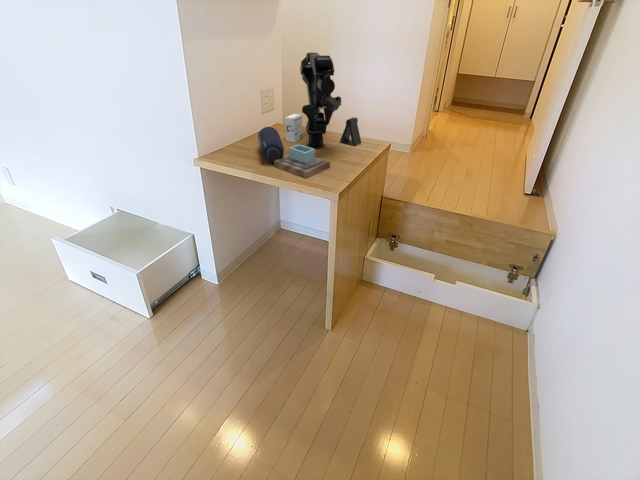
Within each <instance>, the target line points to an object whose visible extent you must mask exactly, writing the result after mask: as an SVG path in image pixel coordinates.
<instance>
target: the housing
mask: <svg viewBox="0 0 640 480" xmlns="http://www.w3.org/2000/svg"><path fill="white" fill-rule="evenodd" d="M288 155H289V160H292V161H295V162H298V163H301V164H304V165H307V164H309V163H312V162H314V161H315V157H316V149H315V148H312V147H309V146H306V145H303V144H295V145H293V146H290V147H288Z"/></svg>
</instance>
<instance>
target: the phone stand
mask: <svg viewBox="0 0 640 480" xmlns="http://www.w3.org/2000/svg"><path fill="white" fill-rule="evenodd" d="M358 122H359V119H358V117H356V116H353V117H351V118H348V119H347V120H346V121H345V127H344V130H343V133H342V135H341V138H340V140H339V143H340V144H343V145H347V146H351V147H357V146H359V145H361V144H362V139H361V135H360V130H359V126H358Z"/></svg>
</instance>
